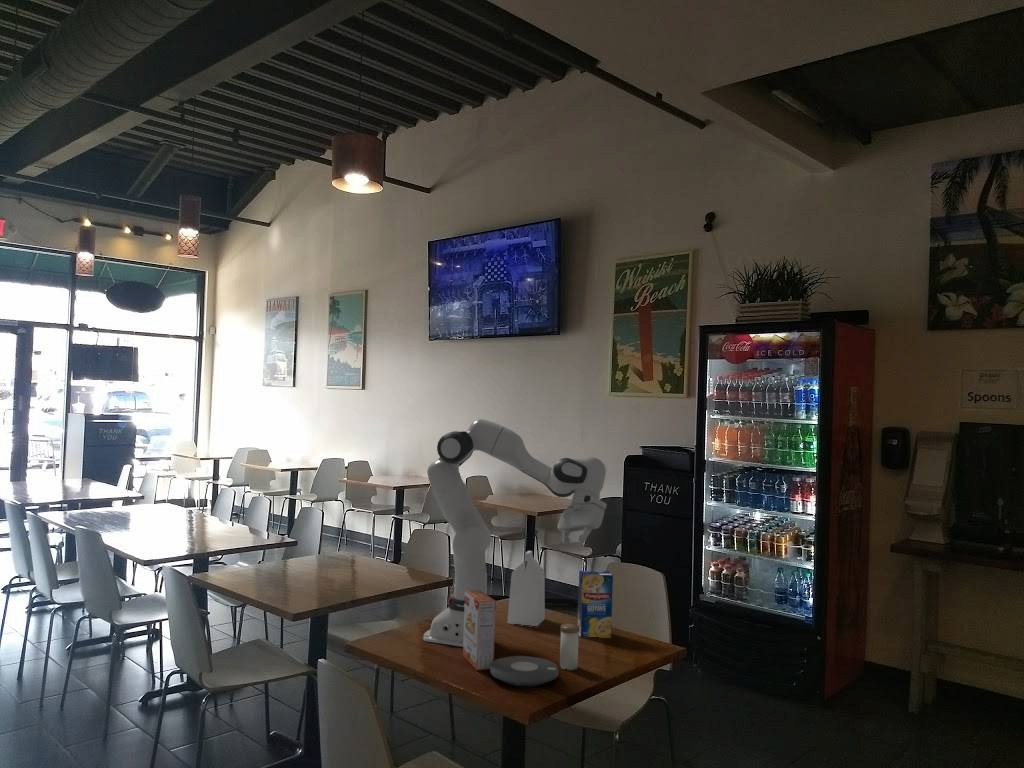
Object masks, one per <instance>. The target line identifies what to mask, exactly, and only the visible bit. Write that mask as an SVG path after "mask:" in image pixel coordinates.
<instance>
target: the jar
mask: <svg viewBox="0 0 1024 768" xmlns="http://www.w3.org/2000/svg"><path fill="white" fill-rule="evenodd" d="M579 637H580V635H579V626H578V624H572V623H564V624H561V625H560V647H559V653H560V654H559V668H560V667H561V668H560V669H562V670H565V669H567V670H566V671H574V669H575V670H577V669H578V668H579V667H578V665H579V664H578V663H579V658H578V657H579ZM577 667H578V668H577Z"/></svg>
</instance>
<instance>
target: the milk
mask: <svg viewBox="0 0 1024 768" xmlns="http://www.w3.org/2000/svg"><path fill="white" fill-rule="evenodd" d="M533 554H534V553H533V550H527V551H526V552H525V553H524V560H523V562H522V563H520V564H519V565H518V566H517V567H516V568H515V569H514V570H513V571H512V573H511V575H510V577H511V578H510V589H509V600H508V602H509V603H508V611H507V612H508V613H507V622H506V624H507V623H509V624H508V625H514V624H521V625H520V626H523V625H531V626H530V627H532V626H538V625H539V624H540V623H541V622H542V623H543V621H544V620H545V616H546V614H545V611H546V609H545V608H546V607H545V605H546V603H545V601H546V600H545V598H546V597H545V590H546V589H545V587H546V585H545V582H546V581H545V580H546V579H545V570H544V568H543V567H542V566H541V564H540V563H539V562H538V561H537V560H536V559H535V558H534V555H533ZM542 623H541V624H542ZM541 624H540V625H541ZM540 625H539V626H540ZM539 626H538V627H539Z"/></svg>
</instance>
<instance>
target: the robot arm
mask: <svg viewBox="0 0 1024 768" xmlns="http://www.w3.org/2000/svg"><path fill="white" fill-rule="evenodd" d="M436 451H437V454H438V456H439V458H438V459H436V460H434V461H433V462H431V463H430V465H429V466H428V468H427V470H426V472H427V478H428V482H429V484H430V487H431V491H432V493H433V496H434V498H435V500H436V502H437V504H438V507H439V509H440V512H441V513H442V515H443V517H444V519H445V520H446V521H447V522H448V524H449V526H450V527H451V529H452V530H453V532H454V533H455V535H454V537H453V540H452V550H453V554H452V555H453V566H454V591H453V594H451V595H449V598H448V600H447V606H448V607H446V608H445V609H444V610H443V611H442V612H440V613H438V614H437V615H436V616H435V617H434V618H433V620H432V622H431V624H430V629H428V630H427V631H425V632H424V634H423V636H422V638H423V641H424V642H429V643H434V644H435V643H436V644H442V645H447V646H455V647H462V648H463V636H464V603H465V591H478V590H481V591H482V592H484V593H485V594H487V589H488V587H487V584H488V573H487V566H486V565H487V562H486V561H487V560H486V552H487V550H488V548H489V547H490V545H491V542H492V536H491V535H492V534H491V531H490V529H489V528H488V526H487V524H486V523H485V521H484V519H483V518H482V515H481V514H480V512H479V510H478V509H477V507H476V506H475V504H474V502H473V500H472V498H471V496H470V494H469V493H470V492H469V491H468V489H467V486H466V485H465V483H464V480H463V478H462V476H461V474H460V469H459V467H461V466H462V465H463V464H464V463H465V462H466V461H467V460H469V459H470V458H471V456H472V455H473V452H475V451H480V452H483V453H485V454H486V455H489V456H491V457H493V458H495V459H498V460H499V461H502V462H504V463H505V464H508V465H510V466H511V467H513V468H515V469H516V470H518V471H520V472H521V473H524V474H525V475H527V476H528V477H531V478H532V479H534V480H536V481H537V482H540V483H541V484H542V485H544V486H545V487H546V488H547V489H548V490H549V491H550V492H551V494H553V495H554V496H556V497H558V498H568V497H570V496H572V498H571V500H570V501H571V502H570V505H569V506H567V508H565V509H564V510H563V511H562V513H561V515H560V517H559V520H558V523H557V530H558V531H560V532H562V537H563V538H562V543H563V544H565V545H568V544H569V543H570V540H571V538H569V537H570V535H571V533H574V532H581V531H582V532H581V534H579V539H578V540H579V541H580V542H582V543H584V542H586V541H587V538H588V536H589V535H590V534H591V533H592V530H595V529H599V528H600V527H601V526H602V523H603V520H604V516H605V515H604V514H605V510H606V508H607V505H608V504H607V503H606V502H604V501H602V500H601V499H600V498H601V497H600V496H601V491H602V490H603V488H604V487H603V486H604V484H605V480H606V471H607V469H606V465H605V464H604V462H603V461H601V460H600V459H599V458H596V457H594V456H587V457H584V458H569V457H564V458H560V459H558V460H557V461H556V462H555V463H554V465H553V467H551V466H549V465H548V464H546V463H544V462H542V461H540V460H538V459H537V458H535V457H533V456H532V455H531V454H530V453H529V451H528V449H527V448H526V444H525V443H524V440H523V438H522V437H521V436H520V435H519V434H518V433H517V432H515V431H514V430H512V429H510V428H508V427H505V426H503V425H502V424H499V423H496V422H494V421H490V420H487V419H483V418H478V419H476V420H474V421H473V422H472V423H471V424H470V425H469V427H468V429H467V430H466V431H465V430H463V431H458V430H455V431H450V432H447V433H445V434H444V435H442V436H441V437H440V438H439V440H438V441H437V446H436Z"/></svg>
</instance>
